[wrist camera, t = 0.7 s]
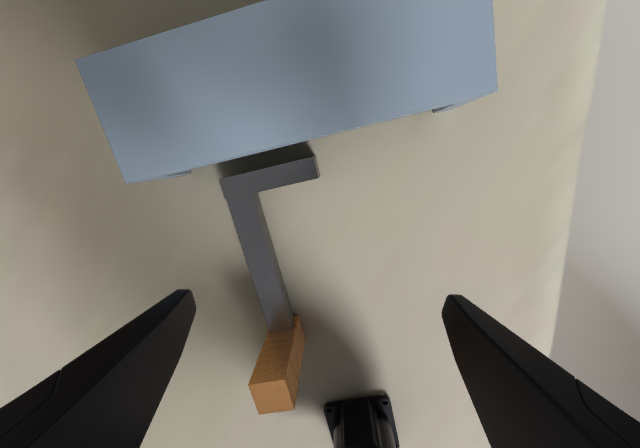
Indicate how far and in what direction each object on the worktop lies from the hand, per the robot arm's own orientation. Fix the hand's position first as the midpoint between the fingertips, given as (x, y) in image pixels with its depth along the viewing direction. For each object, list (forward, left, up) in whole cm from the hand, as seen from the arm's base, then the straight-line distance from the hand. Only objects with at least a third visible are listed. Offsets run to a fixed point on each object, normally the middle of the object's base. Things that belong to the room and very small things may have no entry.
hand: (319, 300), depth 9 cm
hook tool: (-3, +3, -12) cm, 13 cm away
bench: (+9, 0, -12) cm, 16 cm away
